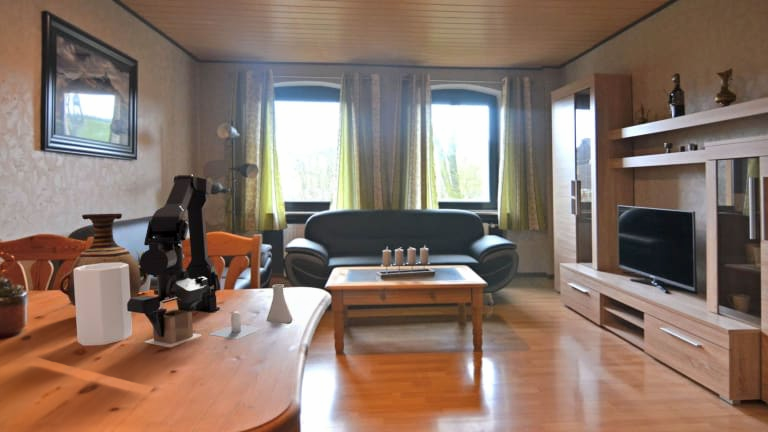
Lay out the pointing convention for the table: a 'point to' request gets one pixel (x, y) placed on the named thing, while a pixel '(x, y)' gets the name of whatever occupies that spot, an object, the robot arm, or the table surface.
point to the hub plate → (235, 335)
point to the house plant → (147, 284)
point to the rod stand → (173, 343)
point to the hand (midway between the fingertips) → (173, 332)
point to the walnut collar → (175, 326)
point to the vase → (104, 255)
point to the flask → (279, 306)
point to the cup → (102, 303)
